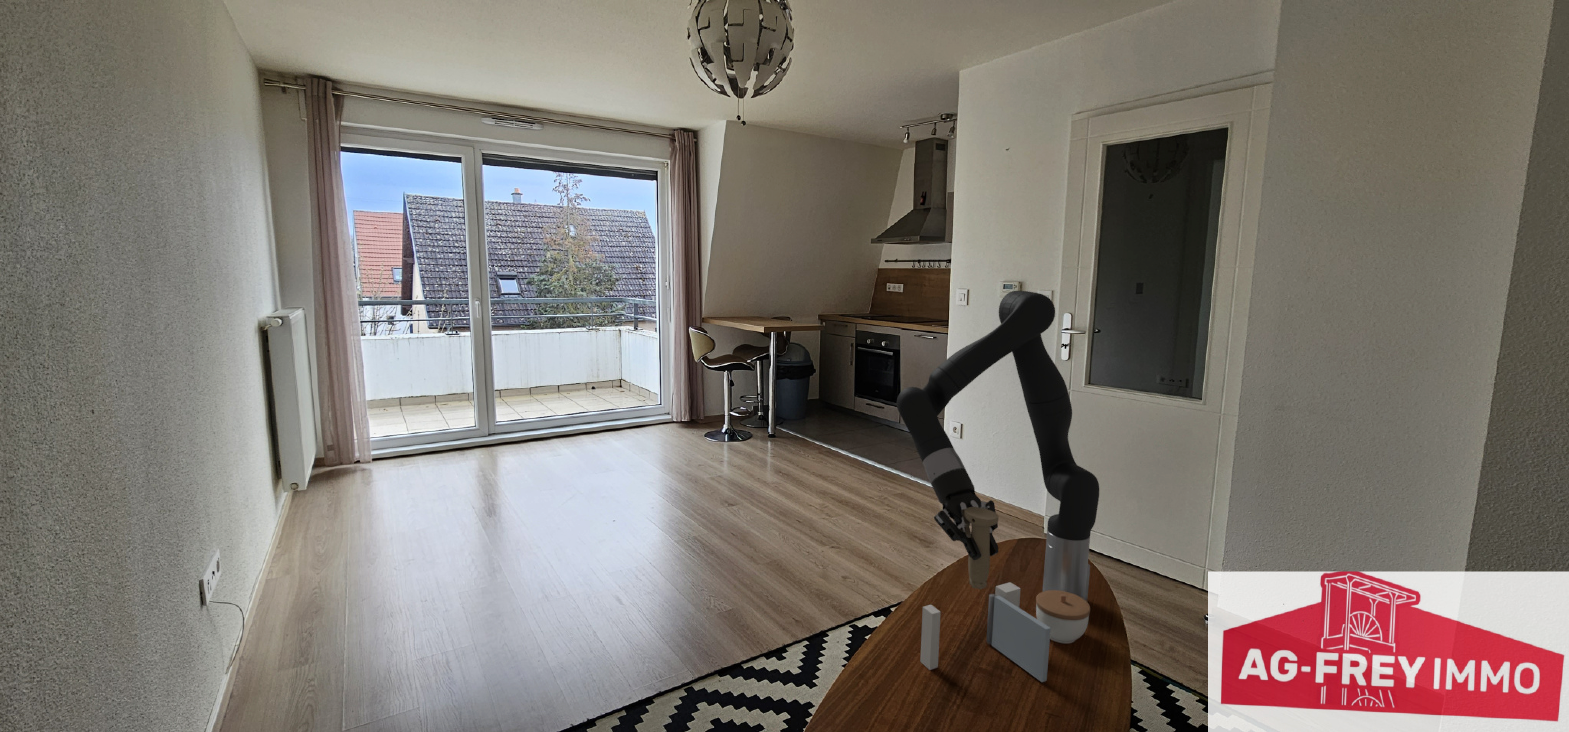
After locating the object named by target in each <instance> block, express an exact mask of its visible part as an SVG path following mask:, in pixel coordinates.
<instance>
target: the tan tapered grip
mask: <svg viewBox="0 0 1569 732" xmlns="http://www.w3.org/2000/svg"><path fill="white" fill-rule="evenodd" d="M964 517H965V518H966V519H967V520H968V521H969V522H971V524H972V525H971V524H970V525H971V529H970V531H971V535H972V536H971V538H974V540H975V542H976V544H977V546H978V549H979V551H980V553H981V557H980V558H979V559H977V560H973V559H972V558H971V557H970V556H969V555H968V559H967V562H968V564H967V566H968V577H969V578H968V583H969V585H970V586H971V588H972V589H978V590H983V589H985V588H987V586H988V578H989V573H990V565H991V556H990V526H993V525H995V524H997V523H999V517H1000V516H999V514H997V512H996V513H995V512H993V511H990V510H988V509H984V508H979V507H969V508H966V509H965V511H964Z"/></svg>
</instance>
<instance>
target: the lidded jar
mask: <svg viewBox="0 0 1569 732" xmlns="http://www.w3.org/2000/svg"><path fill="white" fill-rule="evenodd" d="M1035 604H1036V605H1035V611H1036V612H1035V614H1036V615H1035V616H1036V619H1037V620H1039V621H1041V622H1042V623H1044V624H1045V625H1047V626H1048V627H1050V628H1051V631H1050V641H1053V642H1056V643H1058V644H1068V645H1069V644H1072V643H1074V642H1075V641H1076V640H1078V639H1080V638H1081V637H1082V636H1083V635H1084V633H1086V629H1087V628H1088V625H1089V620H1090V618H1089V617H1090V614H1091V606H1090V604H1089V603H1088V600H1087V601H1085V600H1084V599H1083V598H1081V597H1079V596H1077V595H1075V594H1072V593H1069V592H1065V591H1059V590H1048V591H1043V590H1042V591H1041V592H1039V593H1038V594H1037V595H1036V597H1035Z"/></svg>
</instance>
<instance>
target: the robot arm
mask: <svg viewBox="0 0 1569 732" xmlns="http://www.w3.org/2000/svg"><path fill="white" fill-rule="evenodd" d="M1055 317H1056V308H1055V304H1054V302H1053V301H1052V299H1050V298H1049V296H1047V295H1045V294H1042V293H1040V292H1034V291H1026V290H1012V291H1010V292H1008V293H1007V294H1006V295H1004V296H1003V298H1002V299H1001V301H1000V304H999V306H998V318H999V321H1000V325H998V326H997V327H996V328H994V329H993V330H991V331H990V332H989V333H988V334H986V335H984V336H982V337H980V338H979V339H977V340H975V341H974V342H971V343H970V344H968V345H966V346H965V347H962V348H961V349H959V350H958V351H956V352H954V353H953V354H951V355H950V356H949V357H948V358H947V359H946V360H945V361H943V362H941V364H940V365H939V366H938V367H936V368H935V369H934V370H933V371H932V372H931V373H930V375H929V376H928V377H929V378H928V382H927V383H926V385H925V386H924V387H923V388H920V387H915V386H909V387H906V388H904V389H902V390H901V391H900V393H899V394H898V396H897V398H896V407H897V411H898V413H899V415H900V417H901V419H902V421H903V422H904V425H905V427H906V428H907V430H908V432H909V435H911V437H912V440H913V443H914V446H915V449H916V450H917V451H916V452H917V454H918V456H919V459H920V460H921V462H922V464H923V466H924V471H925V474H926V475H927V476H926V477H927V478H928V480H929V482H930V483H929V484H930V485H931V487H932V489H933V491H934V493H935V495H936V498H937V500H938V502H939V503H940V504H942V509H941V510H940V511H939V512H937V513H936V515H934V517H933V520H934V521H935V522H936V523H937V524H938V526H939V527H940V528H941V529H942V530H943V532H945V534H946V535H947V536H948V537H949V538H950V540H951V541H953V542H956V541H959V542H961V543H962V544H963V546H964V548H965V551H966V552H967V554H968V557H969V556H970V557H971V558H972V559H973V560H977V559H979V558H980V557H981V553H980V551H979V549H978V546H977V544H976V542H975V540H974V538H971V536H972V535H971V528H970V526H972V524H971V522H969V521H968V520H967V519H966V518H965V517H964V511H965V509H966V508H969V507H979V508H984V509H988V510H990V511H993V512H995V513H996V514H997V512H996V505H995V502H994V500H988V501H984V500H983V501H982V500H981V498H980V497H979V496H978V495H977V494H976V491H975V485H974V484H973V482H972V479H971V477H970V476H969V475H970V474H969V473H968V472H967V469H966V467H965V465H964V464H963V461H962V458H961V457H960V456H959V454H958V453H957V452H956V449H955V447H954V446H953V444H952V442H951V440H950V437H949V436H948V434H947V433H946V430H945V429H944V428H943V426H942V424H941V422H940V420H939V418H938V416H939V415H940V414H941V413H942V411H943V410H944V409H945V408H946V407H947V405H948V404H949V403H950V401H952V399H953V398H954V397H955V396H956V395H958V394H959V393H960V392H961V391H963V390H964V389H965V388H966V387H968V385H970V384H971V383H972V382H973V381H974V380H976V379H977V378H978V377H979V376H980V375H981V374H983V373H984V372H985V371H987V370H988V369H989V368H991V367H992V366H993V365H994V364H996V363H997V362H999V361H1000V360H1002V359H1003V358H1004V357H1006V356H1008V355H1009V354H1011V353H1012V356H1013V359H1014V363H1015V366H1016V367H1015V368H1016V371H1017V376H1018V378H1019V382H1020V386H1021V391H1022V394H1023V398H1024V402H1025V405H1026V406H1025V407H1026V410H1027V412H1028V413H1027V414H1028V416H1029V419H1030V422H1031V426H1032V431H1033V434H1034V437H1035V441H1036V445H1037V448H1038V452H1039V459H1040V463H1041V466H1040V467H1041V471H1042V478H1043V483H1044V487H1045V489H1046V490H1047V492H1048V493H1049V495H1051V497H1053V498H1054V499H1056V500H1057V501H1059V509H1058V513H1057V514H1053V515H1051V516H1049V518H1048V519H1047V527H1046V528H1047V529H1046V541H1045V542H1046V543H1045V552H1044V553H1045V555H1044V556H1045V557H1044V569H1043V579H1042V580H1043V581H1042V592H1043V591H1048V590H1059V591H1065V592H1069V593H1072V594H1075V595H1077V596H1079V597H1081V598H1083V599H1084V600H1085V601H1087V602H1088V594H1089V584H1090V583H1089V582H1090V572H1091V565H1090V564H1089V557H1090V555H1089V554H1090V542H1091V531H1092V529H1093V528H1094V527H1095V523H1096V520H1097V514H1098V513H1097V512H1098V507H1099V506H1098V505H1099V498H1100V483H1099V481H1098V480H1099V479H1098V478H1097V477H1096V476H1095V474H1094V473H1092V472H1091V471H1089V470H1087V469H1085V468H1084V467H1082V466H1080V465H1078V464H1077V462H1076V461H1075V458H1074V455H1073V453H1072V451H1071V446H1070V442H1069V441H1070V440H1069V432H1070V428H1071V424H1072V419H1073V408H1072V403H1071V399H1070V395H1069V392H1068V388H1067V383H1066V382H1065V379H1064V378H1063V375H1062V374H1061V372H1060V371H1059V369H1058V367H1057V366H1056V364H1055V362H1054V361H1053V359H1052V357H1051V356H1050V355H1049V352H1048V351H1047V349H1046V347H1045V344H1044V341H1043V337H1042V334H1043V333H1044V332H1046V331H1047V330H1048V329H1049V328H1050V326H1051V325H1052V324H1053V322H1054V319H1055ZM998 523H999V522H998ZM998 523H997V524H995V525H993V526H990V557H994V556H996V555H997V554H998V553H999V545H998V544H997V541H996V539H995V537H994V535H993V532H994V531H995V530H997V528H999V524H998Z"/></svg>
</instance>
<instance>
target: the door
mask: <svg viewBox="0 0 1569 732" xmlns="http://www.w3.org/2000/svg"><path fill="white" fill-rule="evenodd" d="M986 627H987V628H986V640H985V641H986V643H987V644H988V645H991V647H992V648H994V649H996V650H997V651H998V652H1000V653H1001V654H1002V655H1003V656H1005V657H1007V658H1008V659H1009V660H1011V661H1012V662H1014V663H1015V664H1016V665H1018V666H1019V667H1021V668H1022V669H1023V670H1025V671H1026V672H1027V673H1029V675H1031V676H1033V677H1034V678H1035V679H1037V680H1038V681H1040V682H1041V683H1044V682H1046V681H1047V679H1048V668H1049V666H1048V665H1049V657H1050V656H1049V653H1050V643H1051V642H1050V641H1051V639H1050V631H1051V628H1050V627H1048V626H1047V625H1045V624H1044V623H1042V622H1041V621H1039V620H1037V617H1035V616H1033V615H1032V614H1030V613H1028V612H1026V611H1025V610H1023V609H1022V608H1021V607H1019V608H1018V607H1017V606H1015V605H1014V604H1012V603H1010V602H1009V601H1007V600H1006V599H1004V598H1003V597H1001V596H999V595H998V596H997V595H995V593H990V594H988V611H987V626H986Z"/></svg>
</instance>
